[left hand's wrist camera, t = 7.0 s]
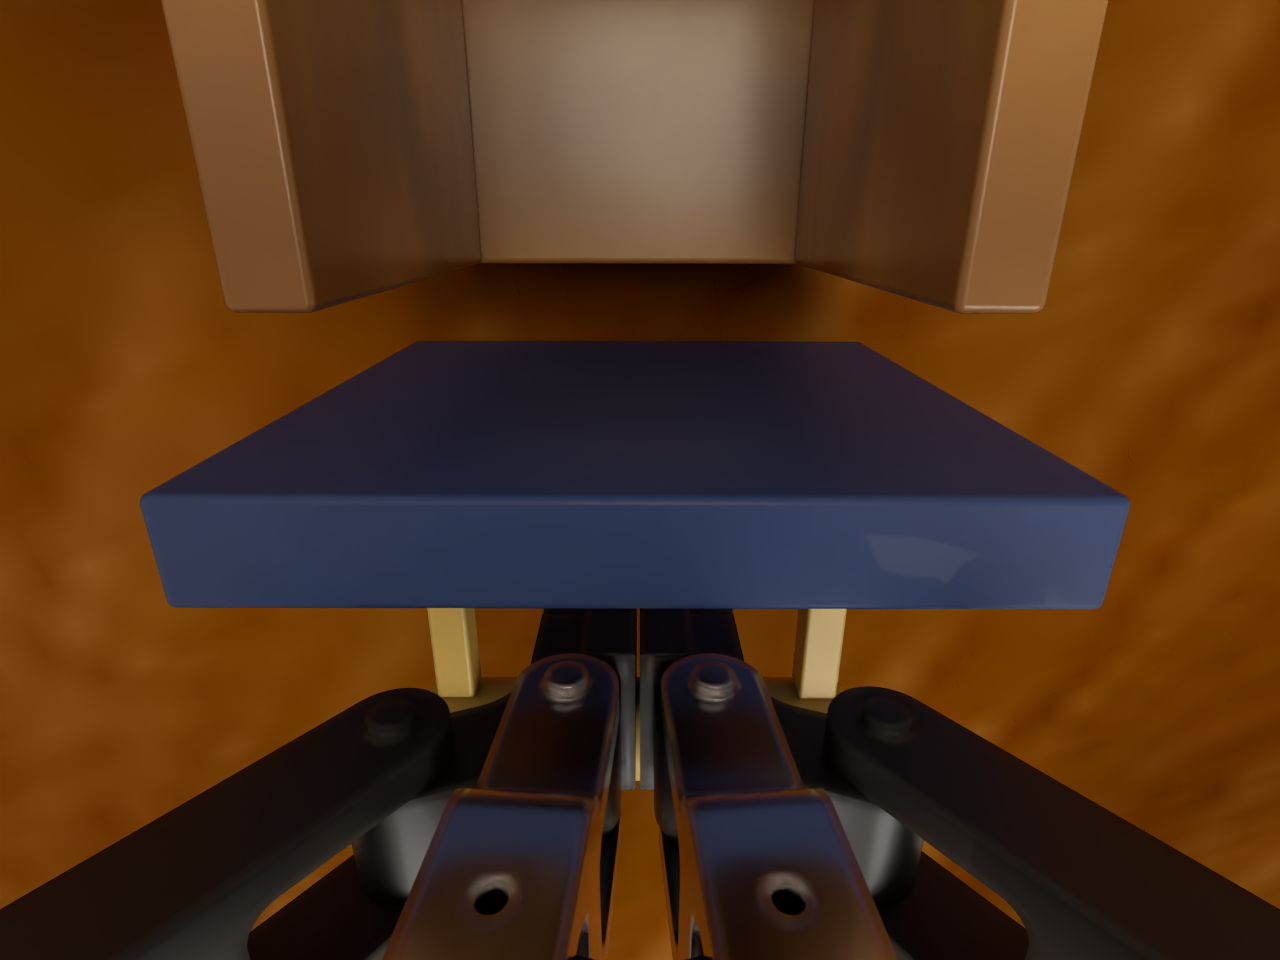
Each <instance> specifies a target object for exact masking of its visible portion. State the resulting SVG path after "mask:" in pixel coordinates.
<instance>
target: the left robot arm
mask: <svg viewBox="0 0 1280 960" xmlns="http://www.w3.org/2000/svg"><path fill="white" fill-rule="evenodd" d="M636 662H637V608H544V613H543V614H542V619H541V623H540V627H539V631H538V635H537V640H536V644H535V648H534V652H533V656H532V660H531V665H530V666H528V667H527V668H526V669H525V670H524V671H522V673H521V674H520V675H519V676H518V678H517V680H516V682H515V685H514V687H513V690H512V692H510V693H508V694H507V695H505V696H504V697H502V698H500V699H498V700H496V701H493V702H490V703H488V704H485V705H481V706H477V707H473V708H469V709H464V710H460V711H456V712H451V713H450V710H449V707H448V705H447V703H446V702H445V700H444V699H443V698H441V697H440V696H439V695H437V694H435V693H433V692H431V691H428V690H424V689H418V688H401V689H394V690H388V691H385V692H381V693H378V694H375V695H373V696H370V697H368V698H366V699H364V700H362V701H360V702H359V703H357V704H355V705H353V706H352V707H350V708H348V709H346V710H345V711H343V712H341V713H340V714H338V715H336V716H334V717H333V718H331V719H329V720H327V721H326V722H324V723H322V724H320V725H319V726H317V727H315V728H314V729H312V730H310V731H308V732H307V733H305V734H303V735H301V736H300V737H298V738H296V739H295V740H293V741H291V742H289V743H288V744H286V745H284V746H282V747H281V748H279V749H277V750H275V751H274V752H272V753H270V754H269V755H267V756H265V757H263V758H262V759H260V760H258V761H256V762H255V763H253V764H251V765H249V766H248V767H246V768H244V769H243V770H241V771H239V772H237V773H236V774H234V775H232V776H230V777H229V778H227V779H225V780H224V781H222V782H220V783H218V784H217V785H215V786H213V787H211V788H210V789H208V790H206V791H204V792H203V793H201V794H199V795H198V796H196V797H194V798H192V799H191V800H189V801H187V802H185V803H184V804H182V805H180V806H178V807H177V808H175V809H173V810H172V811H170V812H168V813H166V814H165V815H163V816H161V817H159V818H158V819H156V820H154V821H152V822H151V823H149V824H147V825H146V826H144V827H142V828H140V829H139V830H137V831H135V832H133V833H132V834H130V835H128V836H127V837H125V838H123V839H121V840H120V841H118V842H116V843H114V844H113V845H111V846H109V847H107V848H106V849H104V850H102V851H101V852H99V853H97V854H95V855H94V856H92V857H90V858H88V859H87V860H85V861H83V862H81V863H80V864H78V865H76V866H75V867H73V868H71V869H69V870H68V871H66V872H64V873H62V874H61V875H59V876H57V877H56V878H54V879H52V880H50V881H49V882H47V883H45V884H43V885H42V886H40V887H38V888H36V889H35V890H33V891H31V892H30V893H28V894H26V895H24V896H23V897H21V898H19V899H17V900H16V901H14V902H12V903H10V904H9V905H7V906H5V907H4V908H2V909H0V960H607V956H608V947H609V939H610V930H611V922H612V913H613V905H614V896H615V888H616V879H617V871H618V862H619V854H620V845H621V789H636ZM640 790H654V810H655V817H656V820H657V823H658V825H659V845H660V854H661V862H662V871H663V879H664V888H665V897H666V905H667V914H668V922H669V931H670V939H671V948H672V956H673V960H1280V909H1278V908H1276V907H1275V906H1273V905H1271V904H1269V903H1268V902H1266V901H1264V900H1263V899H1261V898H1259V897H1257V896H1256V895H1254V894H1252V893H1250V892H1249V891H1247V890H1245V889H1244V888H1242V887H1240V886H1238V885H1237V884H1235V883H1233V882H1231V881H1230V880H1228V879H1226V878H1224V877H1223V876H1221V875H1219V874H1218V873H1216V872H1214V871H1212V870H1211V869H1209V868H1207V867H1205V866H1204V865H1202V864H1200V863H1198V862H1197V861H1195V860H1193V859H1192V858H1190V857H1188V856H1186V855H1185V854H1183V853H1181V852H1179V851H1178V850H1176V849H1174V848H1173V847H1171V846H1169V845H1167V844H1166V843H1164V842H1162V841H1160V840H1159V839H1157V838H1155V837H1153V836H1152V835H1150V834H1148V833H1147V832H1145V831H1143V830H1141V829H1140V828H1138V827H1136V826H1134V825H1133V824H1131V823H1129V822H1127V821H1126V820H1124V819H1122V818H1121V817H1119V816H1117V815H1115V814H1114V813H1112V812H1110V811H1108V810H1107V809H1105V808H1103V807H1102V806H1100V805H1098V804H1096V803H1095V802H1093V801H1091V800H1089V799H1088V798H1086V797H1084V796H1082V795H1081V794H1079V793H1077V792H1076V791H1074V790H1072V789H1070V788H1069V787H1067V786H1065V785H1063V784H1062V783H1060V782H1058V781H1056V780H1055V779H1053V778H1051V777H1050V776H1048V775H1046V774H1044V773H1043V772H1041V771H1039V770H1037V769H1036V768H1034V767H1032V766H1031V765H1029V764H1027V763H1025V762H1024V761H1022V760H1020V759H1018V758H1017V757H1015V756H1013V755H1011V754H1010V753H1008V752H1006V751H1005V750H1003V749H1001V748H999V747H998V746H996V745H994V744H992V743H991V742H989V741H987V740H985V739H984V738H982V737H980V736H979V735H977V734H975V733H973V732H972V731H970V730H968V729H966V728H965V727H963V726H961V725H959V724H958V723H956V722H954V721H953V720H951V719H949V718H947V717H946V716H944V715H942V714H940V713H939V712H937V711H935V710H934V709H932V708H930V707H928V706H927V705H925V704H923V703H921V702H920V701H918V700H916V699H914V698H912V697H910V696H908V695H906V694H903V693H901V692H898V691H894V690H891V689H886V688H881V687H857V688H851V689H848V690H845V691H843V692H841V693H839V694H838V695H837V696H836V697H834V698H833V700H832V701H831V702H830V704H829V707H828V711H827V713H823V712H818V711H814V710H809V709H805V708H801V707H797V706H793V705H790V704H787V703H784V702H781V701H779V700H777V699H775V698H773V697H771V696H770V695H769V693H768V690H767V687H766V685H765V682H764V680H763V678H762V676H761V675H760V674H759V673H758V672H757V671H756V670H755V669H754V668H753V667H752V666H750V665H749V664H747V663H745V662H744V658H743V654H742V650H741V645H740V641H739V637H738V632H737V628H736V624H735V619H734V615H733V613H732V609H661V608H640ZM924 840H925V841H926V842H927V843H929V844H930V845H932V846H933V847H934V848H936V849H937V850H938V851H940V852H941V853H942V854H944V855H945V856H947V857H948V858H949V859H951V860H952V861H953V862H955V863H956V864H957V865H959V866H960V867H961V868H963V869H964V870H966V871H967V872H968V873H970V874H971V875H972V876H974V877H975V878H976V879H978V880H979V881H981V882H982V883H983V884H985V885H986V886H987V887H989V888H990V889H991V890H993V891H994V892H995V893H997V894H998V895H999V896H1001V897H1002V898H1003V899H1004V900H1005V901H1006V902H1007V903H1008V904H1010V905H1011V907H1012V908H1013V909H1014V910H1015V911H1016V913H1017V914H1018V915H1019V917H1020V918H1021V920H1022V922H1023V924H1024V926H1025V928H1026V929H1025V928H1024V927H1022V926H1021V925H1020V924H1018V923H1017V922H1016V921H1014V920H1013V919H1012V918H1010V917H1009V916H1008V915H1006V914H1005V913H1004V912H1002V911H1001V910H1000V909H998V908H997V907H996V906H994V905H993V904H992V903H990V902H989V901H988V900H986V899H985V898H984V897H982V896H981V895H980V894H978V893H977V892H976V891H974V890H973V889H972V888H970V887H969V886H968V885H966V884H965V883H964V882H962V881H961V880H960V879H958V878H957V877H956V876H954V875H953V874H952V873H950V872H949V871H948V870H946V869H945V868H944V867H942V866H941V865H940V864H938V863H937V862H936V861H934V860H933V859H932V858H930V857H929V856H928V855H926V854H925V853H924V852H922V846H923V841H924ZM351 843H352V847H353V852H354V855H352V856H351V857H350V858H348V859H347V860H346V861H344V862H343V863H342V864H340V865H339V866H338V867H336V868H335V869H334V870H332V871H331V872H330V873H328V874H327V875H326V876H324V877H323V878H322V879H320V880H319V881H318V882H316V883H315V884H314V885H312V886H311V887H310V888H308V889H307V890H306V891H304V892H303V893H302V894H300V895H299V896H298V897H296V898H295V899H294V900H292V901H291V902H290V903H288V904H287V905H286V906H284V907H283V908H282V909H280V910H279V911H278V912H276V913H275V914H274V915H272V916H271V917H270V918H268V919H267V920H266V921H264V922H263V923H262V924H260V925H259V926H258V927H256V928H255V929H254V930H252V931H251V929H252V927H253V925H254V923H255V921H256V920H257V918H258V917H259V916H260V914H261V913H262V912H263V911H264V910H265V908H266V907H267V906H268V905H270V904H271V903H272V902H273V901H274V900H275V899H276V898H278V897H279V896H280V895H282V894H283V893H284V892H286V891H287V890H289V889H290V888H291V887H293V886H294V885H295V884H297V883H298V882H299V881H301V880H302V879H304V878H305V877H306V876H308V875H309V874H310V873H312V872H313V871H314V870H316V869H317V868H319V867H320V866H321V865H323V864H324V863H325V862H327V861H328V860H329V859H331V858H332V857H333V856H335V855H336V854H338V853H339V852H340V851H342V850H343V849H344V848H346V847H347V846H348V845H350V844H351ZM250 931H251V932H250Z"/></svg>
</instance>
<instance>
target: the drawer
mask: <svg viewBox="0 0 1280 960" xmlns="http://www.w3.org/2000/svg"><path fill="white" fill-rule="evenodd" d="M161 1H162V6H163V10H164V15H165V20H166V25H167V29H168V34H169V39H170V44H171V49H172V53H173V58H174V63H175V68H176V72H177V77H178V82H179V87H180V92H181V96H182V101H183V106H184V111H185V115H186V120H187V125H188V130H189V135H190V139H191V144H192V149H193V154H194V158H195V163H196V168H197V173H198V178H199V182H200V187H201V192H202V197H203V201H204V206H205V211H206V216H207V220H208V225H209V230H210V235H211V240H212V244H213V249H214V254H215V259H216V263H217V268H218V273H219V278H220V283H221V287H222V292H223V297H224V302H225V305H226V306H227V308H228V309H229V310H232V311H235V312H255V313H311V312H314V311H317V310H321V309H324V308H328V307H331V306H334V305H338V304H341V303H345V302H348V301H352V300H355V299H358V298H362V297H365V296H369V295H372V294H376V293H379V292H382V291H386V290H389V289H393V288H396V287H400V286H403V285H406V284H410V283H413V282H417V281H420V280H424V279H427V278H430V277H434V276H437V275H441V274H444V273H447V272H451V271H454V270H458V269H461V268H465V267H468V266H471V265H475V264H478V263H588V264H799V265H802V266H806V267H809V268H812V269H815V270H819V271H822V272H825V273H829V274H832V275H835V276H838V277H842V278H845V279H848V280H852V281H855V282H858V283H861V284H865V285H868V286H871V287H874V288H878V289H881V290H884V291H888V292H891V293H894V294H897V295H901V296H904V297H907V298H911V299H914V300H917V301H920V302H924V303H927V304H930V305H934V306H937V307H940V308H943V309H947V310H950V311H953V312H956V313H960V314H1033V313H1035V312H1038V311H1041V310H1042V309H1043V307H1044V305H1045V302H1046V298H1047V293H1048V288H1049V283H1050V278H1051V274H1052V269H1053V264H1054V259H1055V254H1056V249H1057V245H1058V240H1059V235H1060V230H1061V225H1062V221H1063V216H1064V211H1065V206H1066V201H1067V197H1068V192H1069V187H1070V182H1071V177H1072V173H1073V168H1074V163H1075V158H1076V153H1077V149H1078V144H1079V139H1080V134H1081V129H1082V125H1083V120H1084V115H1085V110H1086V105H1087V101H1088V96H1089V91H1090V86H1091V81H1092V76H1093V72H1094V67H1095V62H1096V57H1097V52H1098V48H1099V43H1100V38H1101V33H1102V28H1103V24H1104V19H1105V14H1106V9H1107V4H1108V0H161ZM140 506H141V510H142V513H143V517H144V520H145V524H146V527H147V531H148V534H149V538H150V542H151V545H152V549H153V552H154V556H155V559H156V563H157V566H158V570H159V574H160V577H161V581H162V584H163V588H164V591H165V595H166V598H167V602H168V603H169V604H170V605H171V606H173V607H176V608H427V611H428V619H429V627H430V635H431V642H432V650H433V658H434V666H435V674H436V681H435V683H434V684H433V686H432V688H431V692H433V693H435V694H437V695H439V696H440V697H441V698H443V699H444V700H445V702H446V703H447V705H448V707H449V710H450V713H451V712H456V711H460V710H464V709H469V708H473V707H477V706H481V705H485V704H488V703H490V702H493V701H496V700H498V699H500V698H502V697H504V696H505V695H507V694H508V693H510V692H512V690H513V687H514V685H515V682H516V680H517V678H518V677H481V668H480V658H479V648H478V637H477V627H476V617H475V608H661V609H799V612H798V623H797V633H796V643H795V653H794V663H793V674H792V676H793V677H762V678H763V680H764V682H765V685H766V687H767V690H768V693H769V695H770V696H771V697H773V698H775V699H777V700H779V701H781V702H784V703H787V704H790V705H793V706H797V707H801V708H805V709H809V710H814V711H818V712H823V713H827V711H828V707H829V704H830V702H831V701H832V700H833V698H834V697H836V696H837V695H838V694H839V693H841V692H843V690H842V688H841V686H840V684H839V682H838V674H839V666H840V659H841V651H842V643H843V635H844V627H845V619H846V611H847V609H1097V608H1099V607H1100V606H1101V605H1102V604H1103V601H1104V597H1105V593H1106V590H1107V586H1108V583H1109V579H1110V576H1111V572H1112V568H1113V565H1114V561H1115V558H1116V554H1117V551H1118V547H1119V543H1120V540H1121V536H1122V533H1123V529H1124V526H1125V522H1126V518H1127V515H1128V511H1129V508H1130V503H1129V499H1128V498H1127V496H1125V495H1123V494H1121V493H1120V492H1118V491H1116V490H1114V489H1113V488H1111V487H1109V486H1108V485H1106V484H1104V483H1102V482H1101V481H1099V480H1097V479H1095V478H1094V477H1092V476H1090V475H1088V474H1087V473H1085V472H1083V471H1082V470H1080V469H1078V468H1076V467H1075V466H1073V465H1071V464H1069V463H1068V462H1066V461H1064V460H1062V459H1061V458H1059V457H1057V456H1056V455H1054V454H1052V453H1050V452H1049V451H1047V450H1045V449H1043V448H1042V447H1040V446H1038V445H1036V444H1035V443H1033V442H1031V441H1030V440H1028V439H1026V438H1024V437H1023V436H1021V435H1019V434H1017V433H1016V432H1014V431H1012V430H1010V429H1009V428H1007V427H1005V426H1003V425H1002V424H1000V423H998V422H997V421H995V420H993V419H991V418H990V417H988V416H986V415H984V414H983V413H981V412H979V411H977V410H976V409H974V408H972V407H971V406H969V405H967V404H965V403H964V402H962V401H960V400H958V399H957V398H955V397H953V396H951V395H950V394H948V393H946V392H945V391H943V390H941V389H939V388H938V387H936V386H934V385H932V384H931V383H929V382H927V381H925V380H924V379H922V378H920V377H919V376H917V375H915V374H913V373H912V372H910V371H908V370H906V369H905V368H903V367H901V366H899V365H898V364H896V363H894V362H892V361H891V360H889V359H887V358H886V357H884V356H882V355H880V354H879V353H877V352H875V351H873V350H872V349H870V348H868V347H866V346H865V345H863V344H861V343H859V342H576V341H417V342H415V343H413V344H411V345H410V346H408V347H406V348H404V349H402V350H401V351H399V352H397V353H395V354H393V355H392V356H390V357H388V358H386V359H385V360H383V361H381V362H379V363H377V364H376V365H374V366H372V367H370V368H368V369H367V370H365V371H363V372H361V373H360V374H358V375H356V376H354V377H352V378H351V379H349V380H347V381H345V382H343V383H342V384H340V385H338V386H336V387H335V388H333V389H331V390H329V391H327V392H326V393H324V394H322V395H320V396H318V397H317V398H315V399H313V400H311V401H310V402H308V403H306V404H304V405H302V406H301V407H299V408H297V409H295V410H293V411H292V412H290V413H288V414H286V415H285V416H283V417H281V418H279V419H277V420H276V421H274V422H272V423H270V424H268V425H267V426H265V427H263V428H261V429H260V430H258V431H256V432H254V433H252V434H251V435H249V436H247V437H245V438H243V439H242V440H240V441H238V442H236V443H235V444H233V445H231V446H229V447H227V448H226V449H224V450H222V451H220V452H218V453H217V454H215V455H213V456H211V457H210V458H208V459H206V460H204V461H202V462H201V463H199V464H197V465H195V466H193V467H192V468H190V469H188V470H186V471H185V472H183V473H181V474H179V475H177V476H176V477H174V478H172V479H170V480H169V481H167V482H165V483H163V484H161V485H160V486H158V487H156V488H154V489H152V490H151V491H149V492H147V493H145V494H144V495H143V496H142V497H141V500H140ZM636 781H640V677H636Z"/></svg>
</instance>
